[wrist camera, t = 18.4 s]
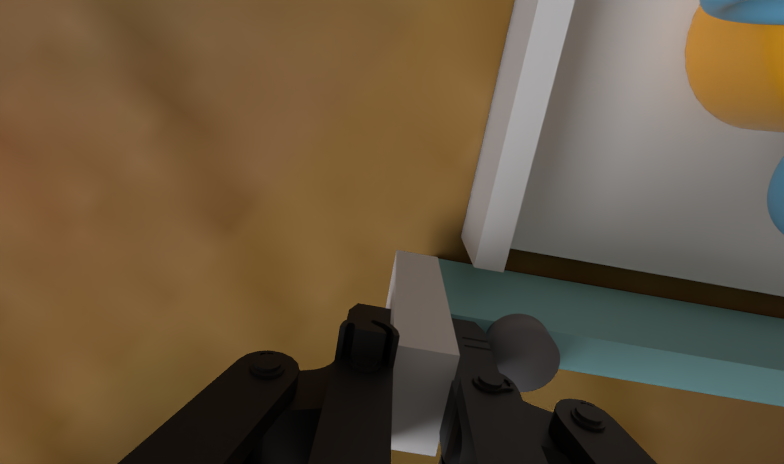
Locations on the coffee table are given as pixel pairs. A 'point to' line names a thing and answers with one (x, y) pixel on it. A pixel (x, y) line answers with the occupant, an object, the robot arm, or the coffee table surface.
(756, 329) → the gate
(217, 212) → the coffee table surface
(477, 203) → the white square tray
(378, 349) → the robot arm
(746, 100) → the orange tube with rings
